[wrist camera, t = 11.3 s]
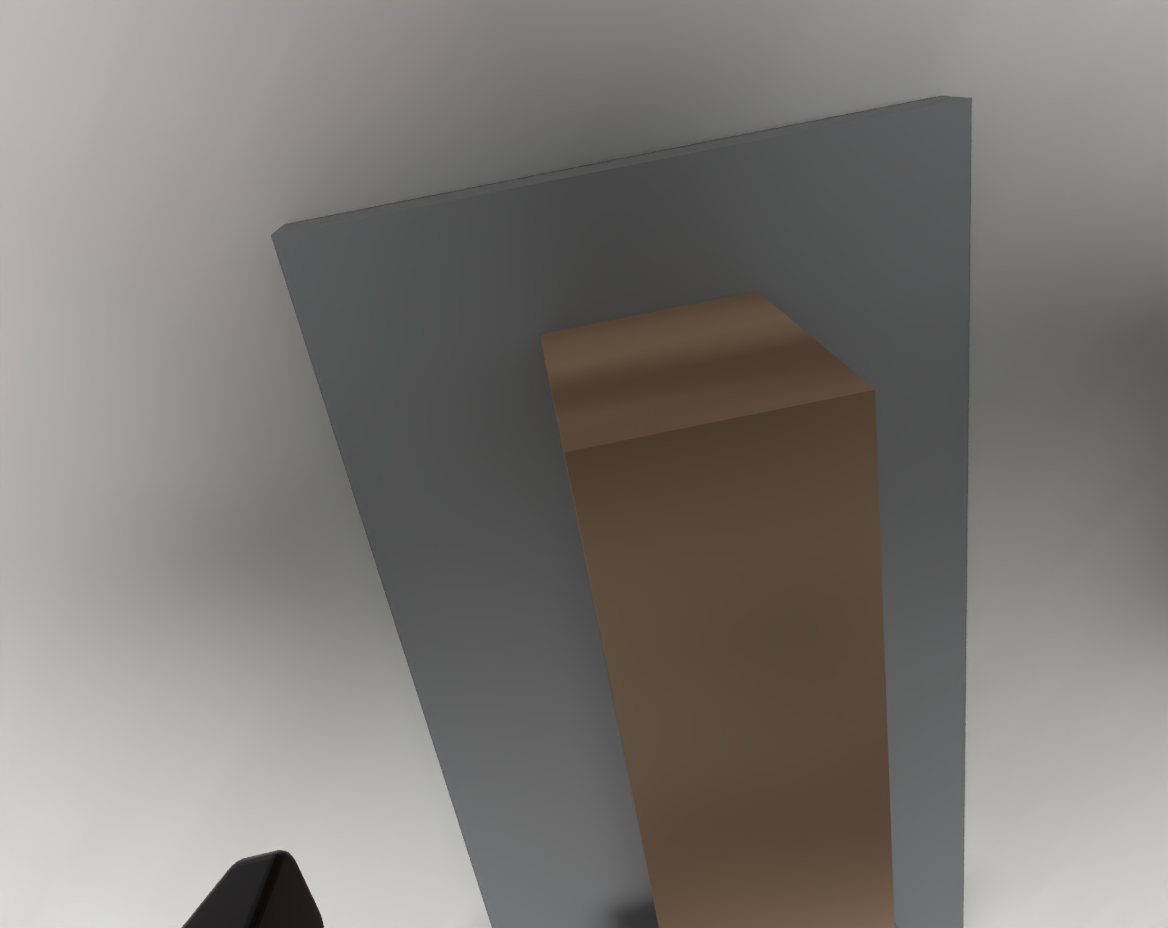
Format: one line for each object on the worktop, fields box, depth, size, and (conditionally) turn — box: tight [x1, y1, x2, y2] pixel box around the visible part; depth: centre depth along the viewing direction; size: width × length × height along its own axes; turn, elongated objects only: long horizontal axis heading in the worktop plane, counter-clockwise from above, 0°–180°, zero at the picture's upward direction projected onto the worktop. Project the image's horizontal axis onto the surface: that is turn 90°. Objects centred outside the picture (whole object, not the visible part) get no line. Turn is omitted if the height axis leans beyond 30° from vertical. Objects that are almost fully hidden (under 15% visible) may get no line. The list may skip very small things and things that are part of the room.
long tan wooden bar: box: [540, 291, 898, 928], centre depth 14 cm, size 19×5×4 cm, turn 10°
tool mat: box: [271, 96, 972, 928], centre depth 16 cm, size 9×23×1 cm, turn 10°
